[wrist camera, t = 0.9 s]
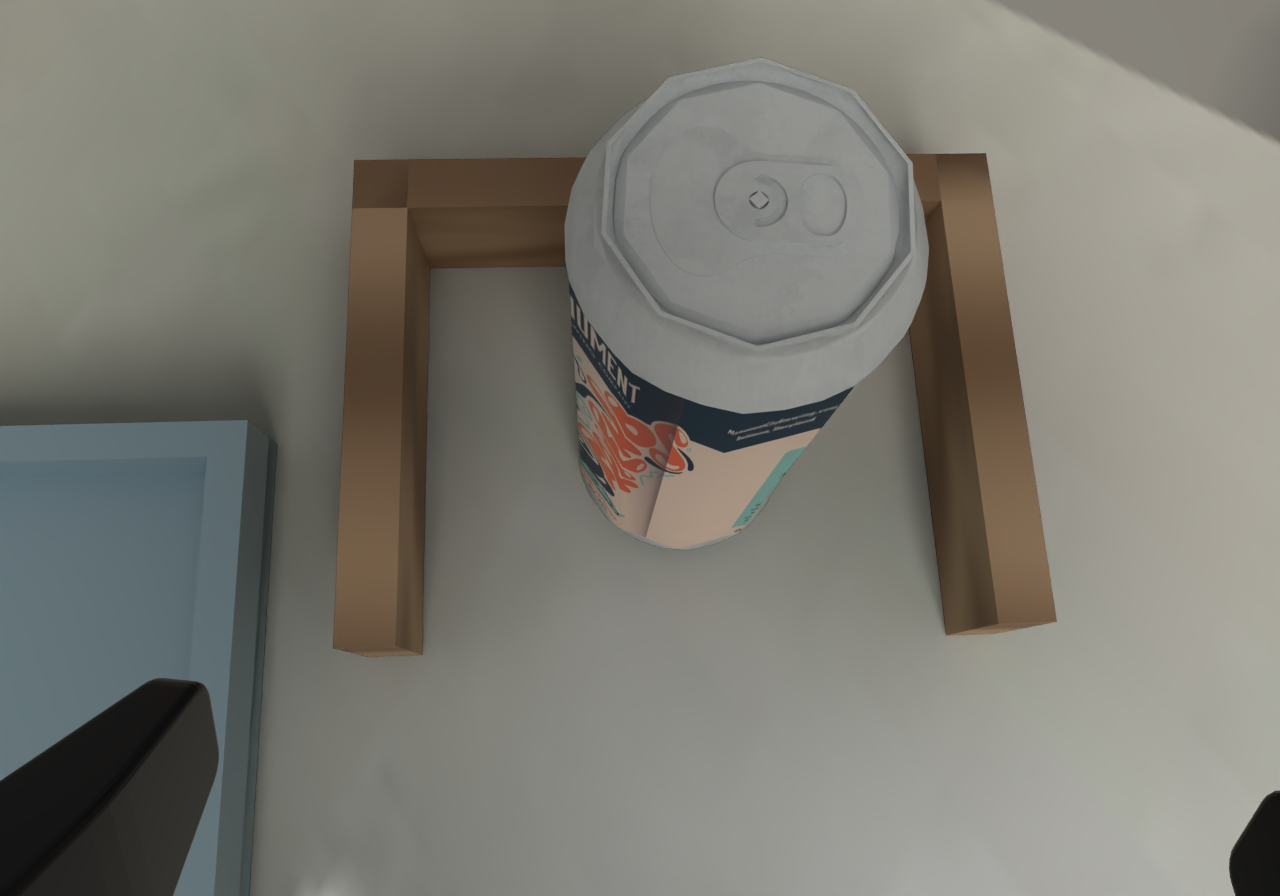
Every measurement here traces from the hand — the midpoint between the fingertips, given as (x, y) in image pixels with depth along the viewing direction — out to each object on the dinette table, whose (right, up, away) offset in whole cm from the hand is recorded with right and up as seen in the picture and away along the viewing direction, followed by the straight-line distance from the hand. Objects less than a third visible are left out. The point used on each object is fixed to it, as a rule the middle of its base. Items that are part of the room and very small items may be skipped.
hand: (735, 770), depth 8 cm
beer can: (0, +2, +15) cm, 15 cm away
